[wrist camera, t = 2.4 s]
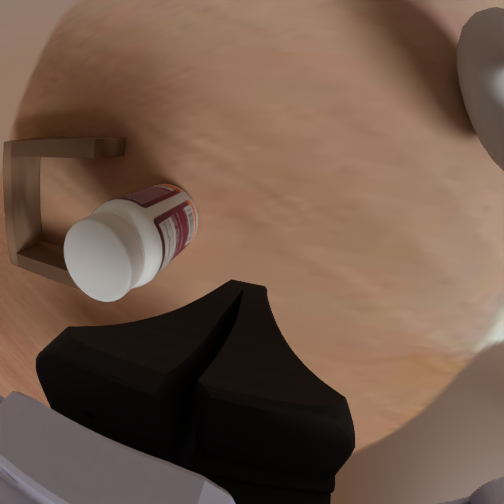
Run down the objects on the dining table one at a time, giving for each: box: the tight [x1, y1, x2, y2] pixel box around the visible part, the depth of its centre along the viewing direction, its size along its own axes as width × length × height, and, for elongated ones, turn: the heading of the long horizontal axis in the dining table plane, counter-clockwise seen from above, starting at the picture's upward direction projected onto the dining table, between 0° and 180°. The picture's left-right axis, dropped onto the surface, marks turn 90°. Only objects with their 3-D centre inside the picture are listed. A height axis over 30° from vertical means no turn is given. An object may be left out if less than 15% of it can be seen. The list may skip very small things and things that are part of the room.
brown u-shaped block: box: [3, 137, 125, 289], centre depth 19 cm, size 10×10×4 cm
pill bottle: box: [64, 184, 198, 302], centre depth 16 cm, size 5×5×8 cm
